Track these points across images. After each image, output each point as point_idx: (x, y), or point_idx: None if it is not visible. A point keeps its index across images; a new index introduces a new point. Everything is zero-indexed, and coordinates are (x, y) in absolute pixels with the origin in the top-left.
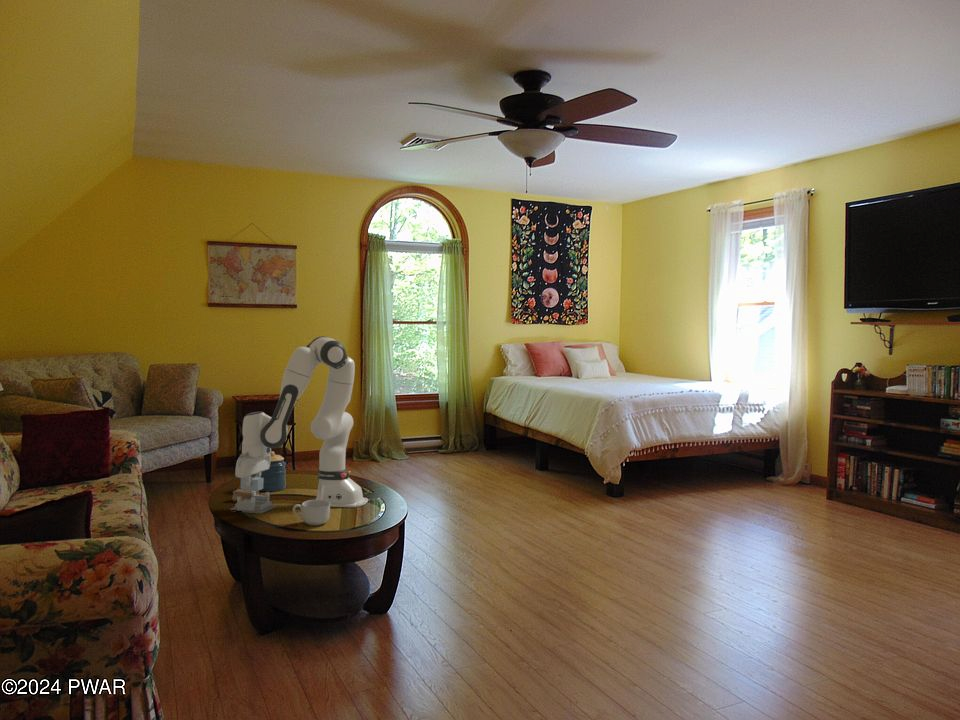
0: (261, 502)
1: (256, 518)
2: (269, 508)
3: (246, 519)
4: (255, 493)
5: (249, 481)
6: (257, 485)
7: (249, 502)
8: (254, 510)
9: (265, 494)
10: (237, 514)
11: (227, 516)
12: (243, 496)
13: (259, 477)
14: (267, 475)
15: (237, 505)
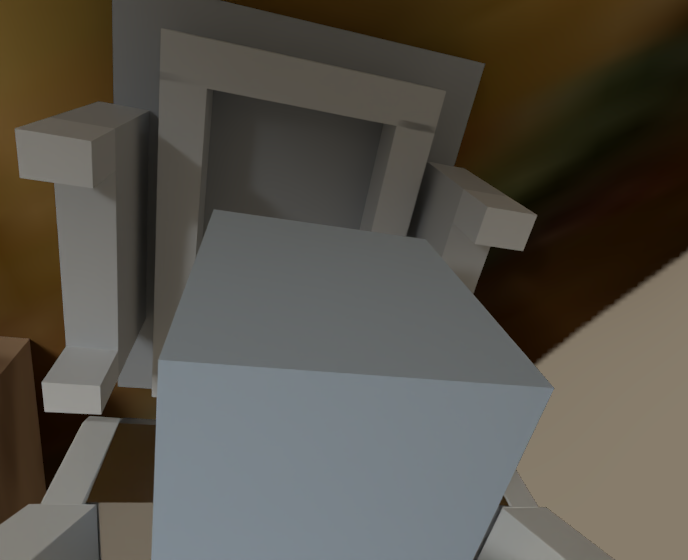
0: (201, 185)
1: (662, 36)
2: (289, 17)
3: (677, 133)
4: (66, 359)
5: (557, 524)
6: (468, 302)
7: (486, 249)
8: (447, 160)
9: (106, 175)
10: (486, 289)
11: (545, 335)
12: (12, 477)
13: (26, 535)
14: None
15: None
